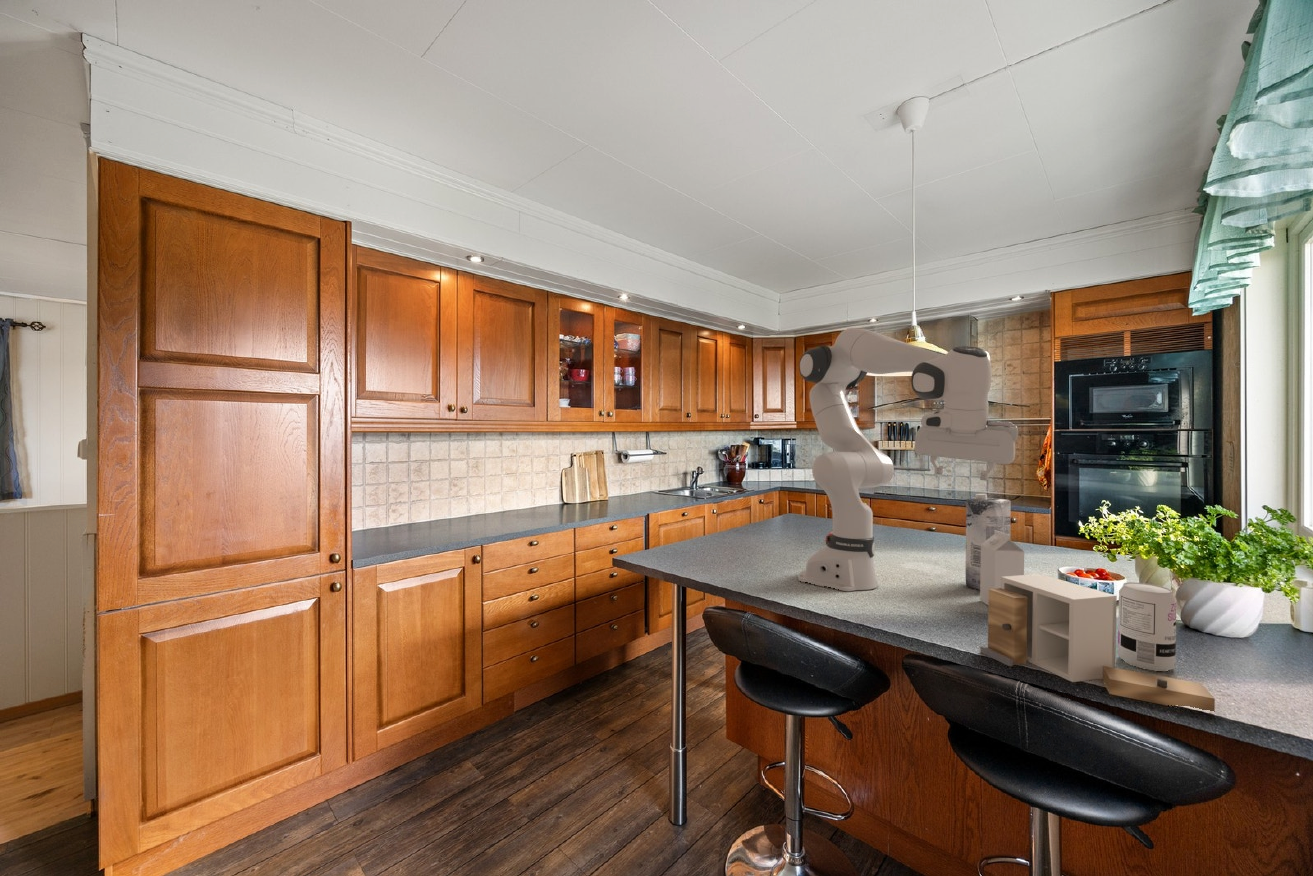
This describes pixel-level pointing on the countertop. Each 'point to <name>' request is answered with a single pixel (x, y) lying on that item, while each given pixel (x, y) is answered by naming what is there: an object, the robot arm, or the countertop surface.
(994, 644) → the oak door
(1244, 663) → the countertop surface
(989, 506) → the juice carton
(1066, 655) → the carcass
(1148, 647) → the supplement can
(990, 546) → the milk carton
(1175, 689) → the door
